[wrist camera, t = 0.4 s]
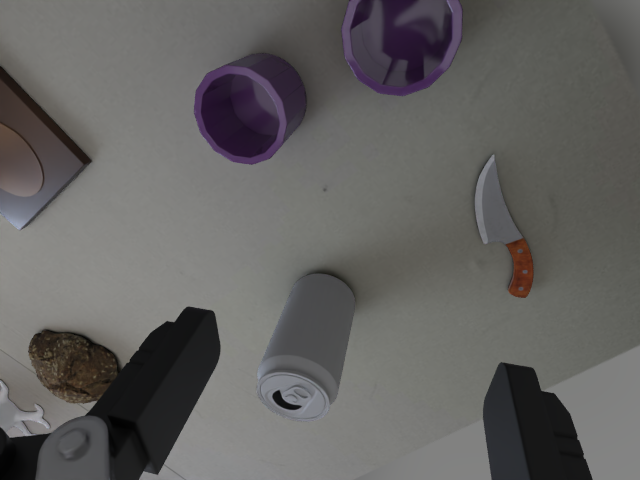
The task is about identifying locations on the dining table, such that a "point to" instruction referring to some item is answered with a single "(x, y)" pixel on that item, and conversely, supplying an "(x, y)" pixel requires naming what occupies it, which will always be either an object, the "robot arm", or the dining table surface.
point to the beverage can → (307, 349)
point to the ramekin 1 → (250, 107)
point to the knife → (502, 228)
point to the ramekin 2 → (401, 42)
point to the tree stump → (17, 414)
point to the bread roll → (72, 366)
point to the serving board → (31, 156)
